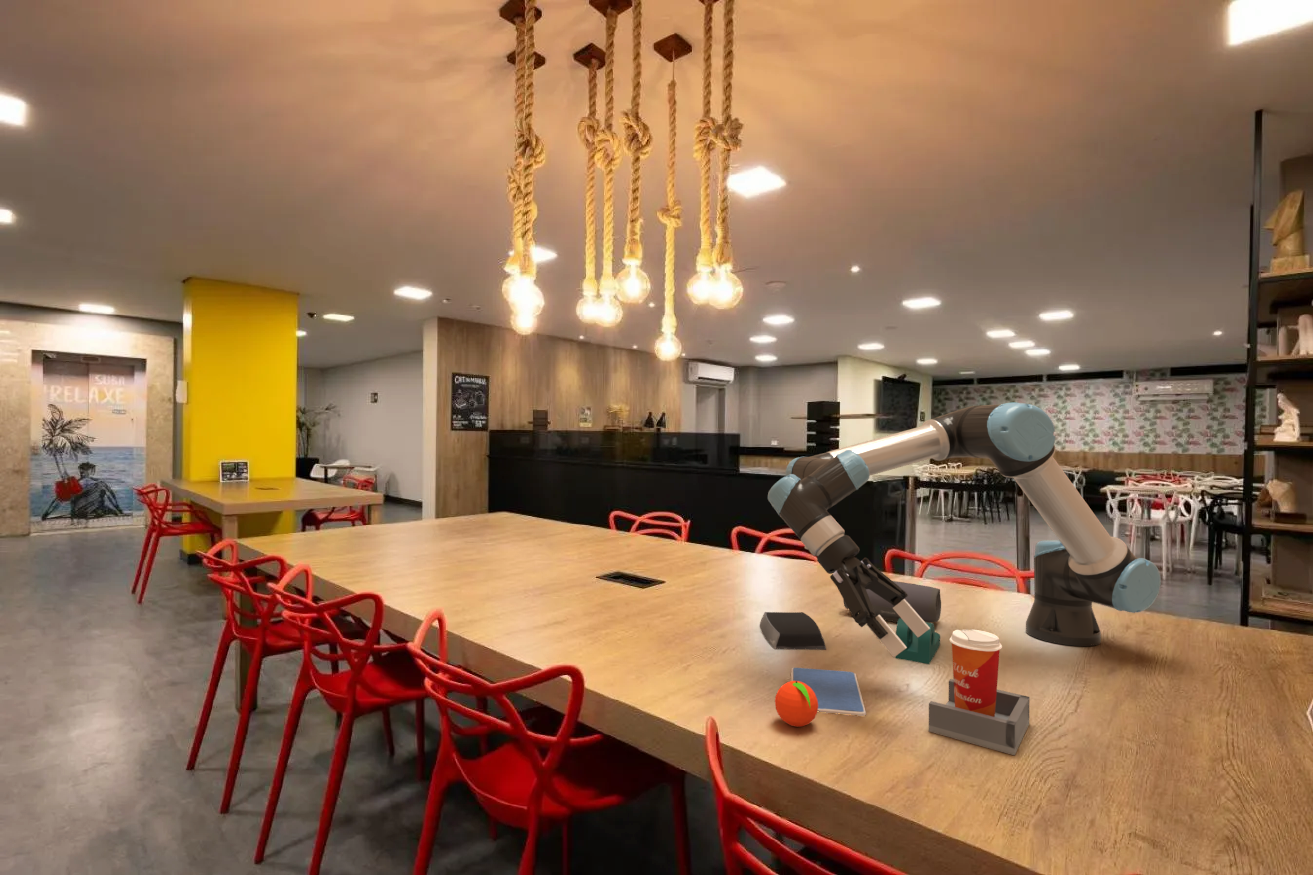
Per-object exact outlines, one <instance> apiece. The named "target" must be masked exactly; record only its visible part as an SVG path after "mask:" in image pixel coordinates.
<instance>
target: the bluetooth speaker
mask: <svg viewBox="0 0 1313 875" xmlns="http://www.w3.org/2000/svg"><path fill="white" fill-rule="evenodd" d="M892 581H893V582H894V583H895V584H897V585H898V586H899V587H900V588H901V589H903V590H904V591H905V592H906V593H907V595H908V596H907V597H906V598H904V599H905V600H906V601H907V602H908V603H909V605H910V606H911V607H912V608H913V609H914V610H915V611H916V613H917V614H918V615H919V616H920V617H921V618H922V619H923V621H924V622H929V623H938V622H939V620H940V618H941V614H942V613H941V612H942V598H941V589H940V588H936V587H934V586H929V585H922V584H916V583H910V582H904V581H903V582H902V581H896V580H892ZM866 591H867V594H868V596H869V599H870V601H871V604H872V606H873V609H874V611H875V614H876V616H878V615H880V616H881V617H882V618H883V619H884V621H887V622H894V623H898V620H899V618H901V617H900V616H899V615H898V614H897V613H896V611H895V610H894V609H893V607H895V606H894V605H892V604H891V603H889V602H888V601H886V600H885V599H883V598H882V597H880V596H879V595H877V594H876V593H874V592H873V591H871V590H870V589H866ZM842 602H843V605H844V606H843V607H844V608H846V609H848V607H847V605H846V603H845V601H844V599H843V598H842ZM848 610H849V609H848ZM876 616H875V617H876Z"/></svg>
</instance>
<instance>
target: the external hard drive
mask: <svg viewBox="0 0 1313 875" xmlns="http://www.w3.org/2000/svg"><path fill="white" fill-rule="evenodd" d="M759 627H760V631H761V633H762V635H763V637H764V639H765V640H766V642H767V643H768V644H769V646H770V647H771V648H772V649H774V650H794V651H795V650H796V651H797V650H803V651H804V650H807V651H808V650H810V651H811V650H817V651H818V650H819V651H820V650H821V651H824V650H825V651H826V650H827V647H826V644H825V640H824V638H823V633H822V632H821V629H820V628H819V626H818V624H817V623H816V621H815V620H814V619H813V618H812V617H810V616H809V615H808V614H806V613H805V612H800V611H799V612H793V611H791V612H788V611H787V612H785V611H784V612H783V611H782V612H781V611H780V612H777V611H774V612H773V611H772V612H771V611H765V612H764V613H763V614H762V616H761V620H760V622H759Z"/></svg>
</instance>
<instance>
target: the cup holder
mask: <svg viewBox="0 0 1313 875" xmlns="http://www.w3.org/2000/svg"><path fill="white" fill-rule="evenodd" d="M1030 701H1031V698H1030V696H1027V695H1023V694H1019V693H1014V692H1010V691H1005V690H1001V689H997V694H996V706H995V717H993V716H989V715H985V714H981V713H977V712H973V711H969V710H965V709H961V708H957V707H955V697H954V678H953V679H952V678H950V679H949V680H948V701H947V702H946V703H940V702H937V701H932V700H930V701H929V702H928V732H929V733H930V732H931V733H934V734H937V735H939V736H940V735H941V736H944V737H947V738H950V739H955V740H959V741H962V742H965V743H968V744H973V745H976V746H979V747H983V748H986V749H989V750H993V751H997V752H1001V753H1005V754H1009V755H1012V756H1015V755H1016V754H1017V751H1018V749H1019V746H1020V745H1021V744H1022V741H1023V738H1024V736H1025V734H1026V733H1027V730H1028V728H1029V726H1030Z"/></svg>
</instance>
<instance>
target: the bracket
mask: <svg viewBox="0 0 1313 875" xmlns="http://www.w3.org/2000/svg"><path fill="white" fill-rule="evenodd" d="M924 622H925V623H926V624H927V625H928V626H929V627H930V629H929V630H927V631H926V632H925V633H923V634H922V635H921V636H920V637H917V636H916V635H915V634H914V632H913V631H912V630H911V629H910V628H909V627H908V625H907V624H906V623H905V622H904V621H903V620H902V618H899V620H898V622H896V629H895V634H896V635H897V636H898V637H899V638H900V640H901V641H902V642H903V643H904V644H905V646H906V647H907V648H906V649H904V650H903V651H902V652H900V653H899V654H898V655H897V656H895V659H898V660H904V661H909V662H915V663H920V664H924V665H925V664H926V665H930V664H931V662H932V661H933V659H934V657H935V656H936V653H937V651H938V650H939V648H940V646H941V634H940V633H939V632H936V631H935V629H936V628H935V624H934V622H926V621H924Z"/></svg>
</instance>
